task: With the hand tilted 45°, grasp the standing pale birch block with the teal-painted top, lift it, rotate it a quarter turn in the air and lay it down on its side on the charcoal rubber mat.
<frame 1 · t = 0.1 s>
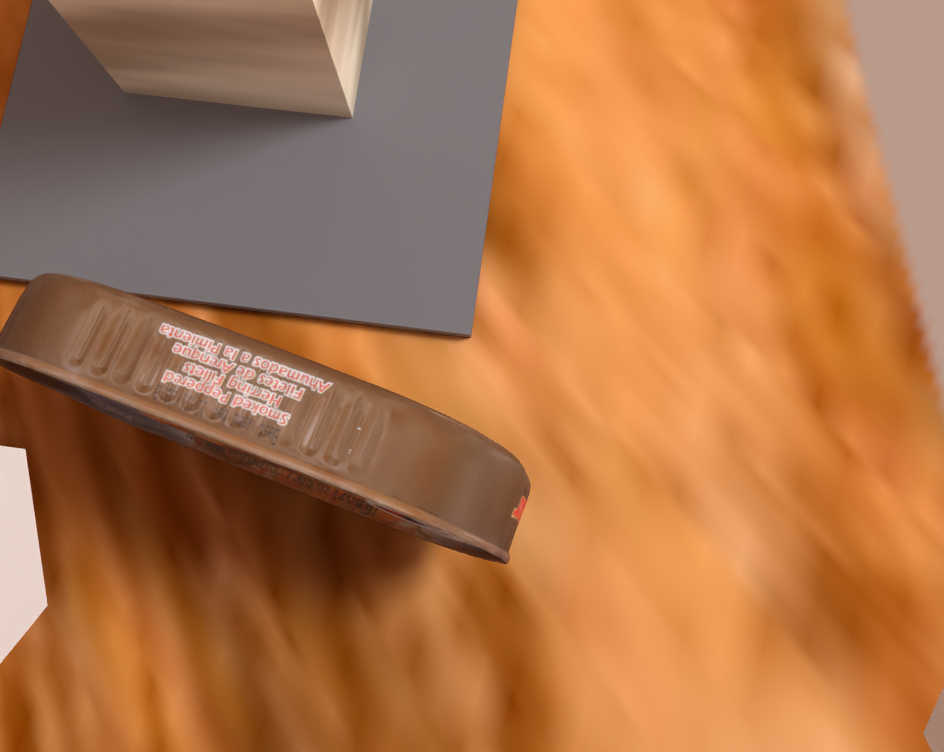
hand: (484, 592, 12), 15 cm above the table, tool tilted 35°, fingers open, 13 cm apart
mat: (270, 34, 31), on the table
block: (253, 26, 30), resting on mat
tin: (302, 439, 28), on the table
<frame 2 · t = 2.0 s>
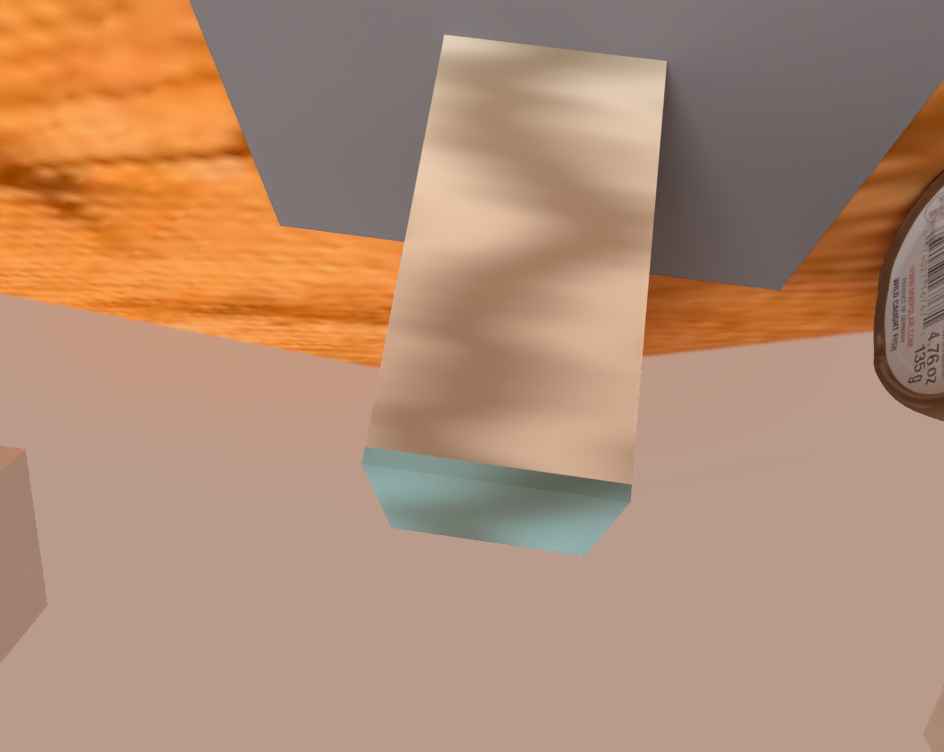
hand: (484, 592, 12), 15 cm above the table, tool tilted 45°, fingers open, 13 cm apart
mat: (545, 116, 27), on the table
block: (543, 137, 27), resting on mat
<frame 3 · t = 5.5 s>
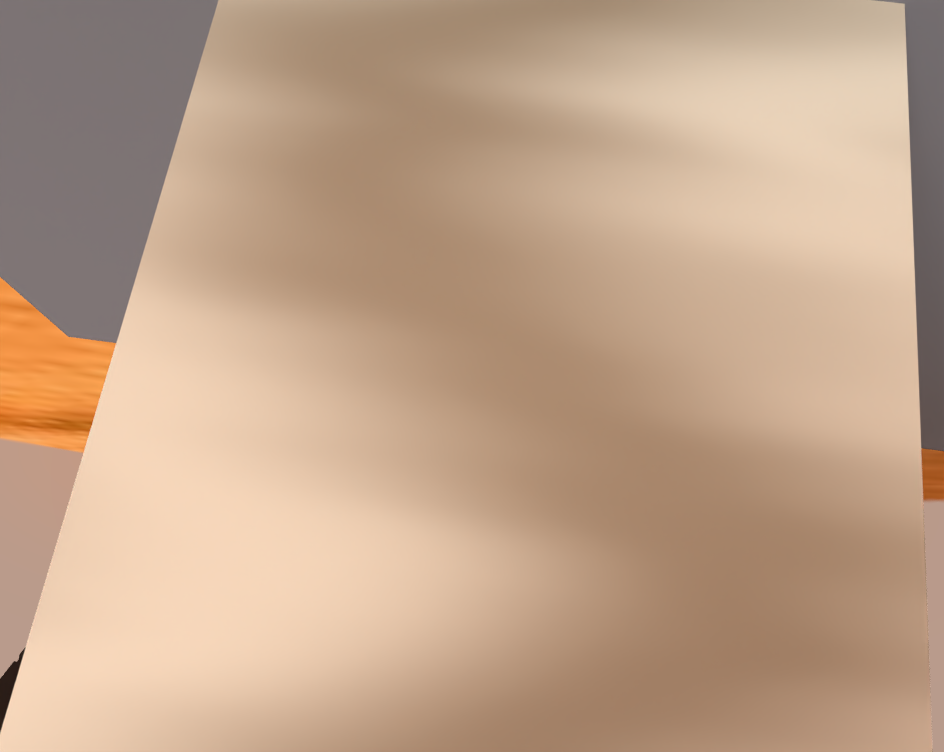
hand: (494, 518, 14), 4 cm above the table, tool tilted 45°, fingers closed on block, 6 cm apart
mat: (541, 155, 11), on the table
block: (535, 201, 12), resting on mat, touching gripper
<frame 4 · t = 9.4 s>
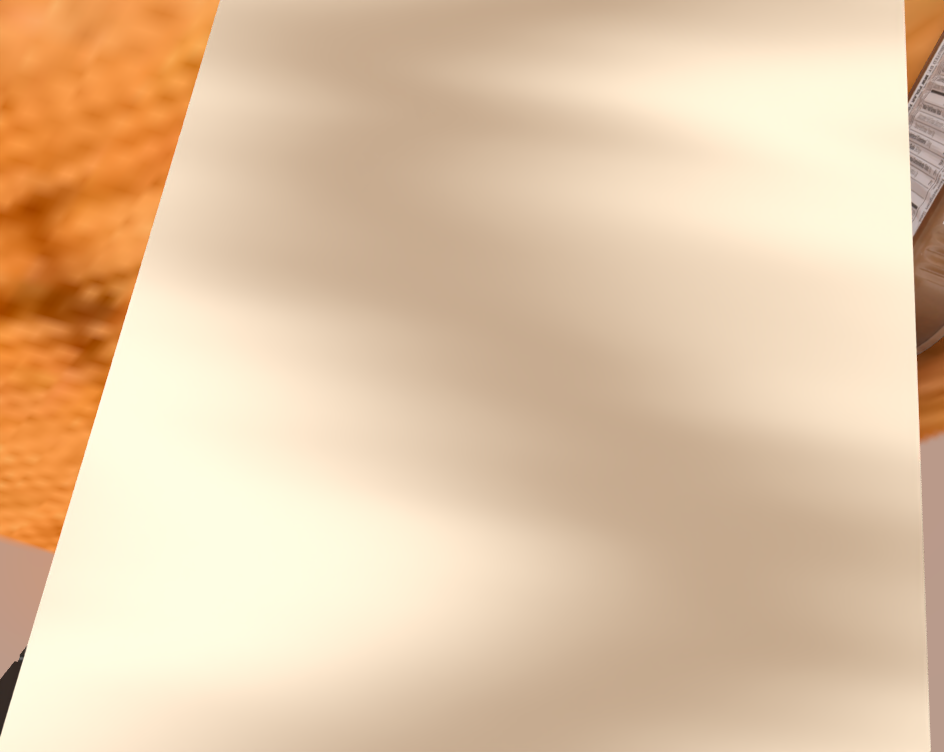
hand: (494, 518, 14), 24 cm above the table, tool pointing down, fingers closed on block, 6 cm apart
block: (536, 198, 12), point 24 cm above the table, tilted 45°, touching gripper
tin: (915, 125, 33), on the table
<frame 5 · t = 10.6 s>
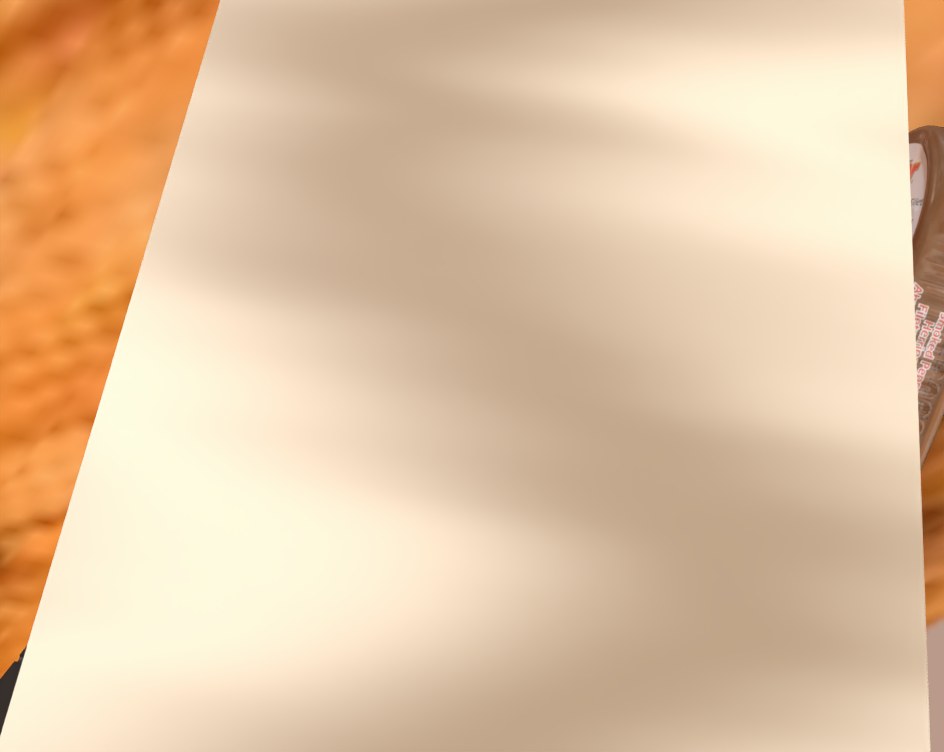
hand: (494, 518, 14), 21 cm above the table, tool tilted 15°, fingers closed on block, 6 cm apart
block: (536, 198, 12), point 22 cm above the table, tilted 61°, touching gripper
tin: (818, 331, 34), on the table
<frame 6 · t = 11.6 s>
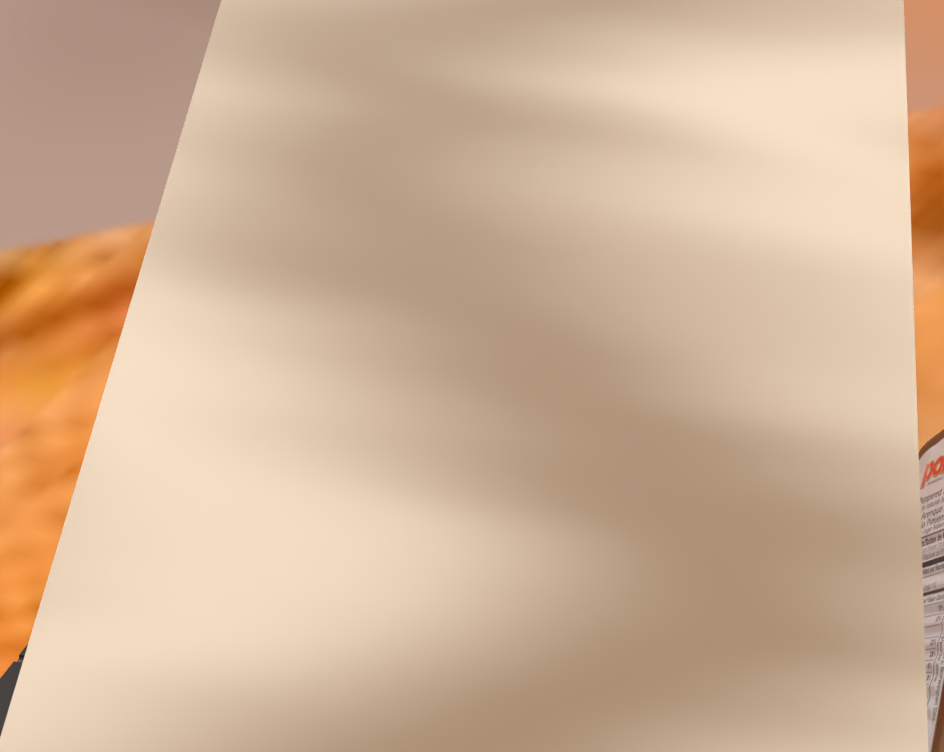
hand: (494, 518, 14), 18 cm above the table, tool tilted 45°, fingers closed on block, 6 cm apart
block: (537, 196, 12), point 21 cm above the table, tilted 89°, touching gripper
tin: (881, 652, 30), on the table
when the fingers open (4 cm above the table, at t = 15.6 s): block drops 3 cm, resting on mat.
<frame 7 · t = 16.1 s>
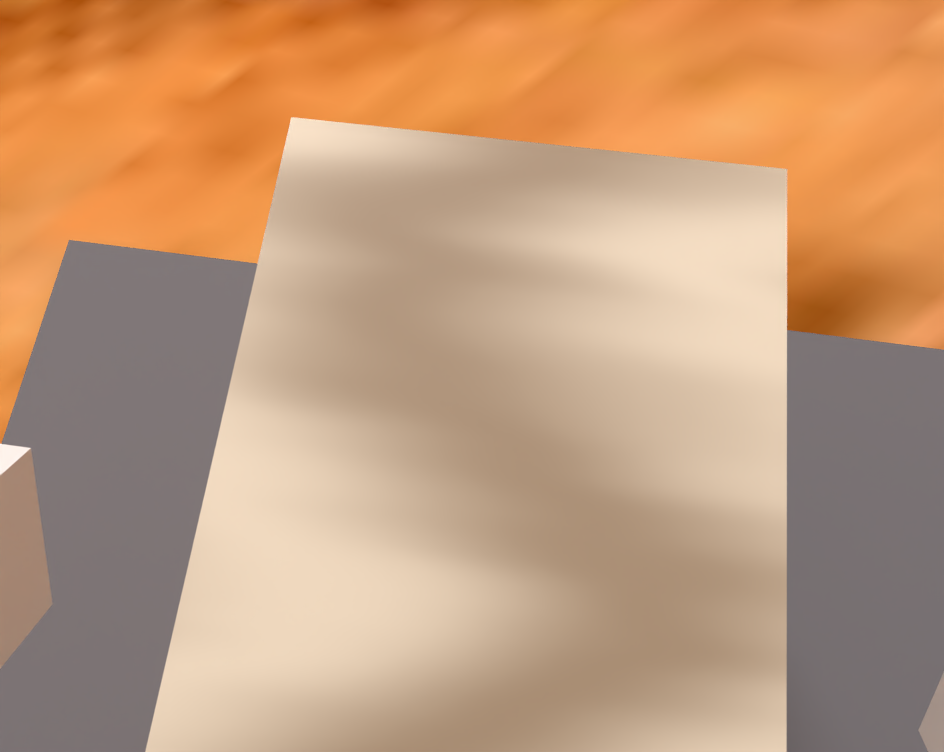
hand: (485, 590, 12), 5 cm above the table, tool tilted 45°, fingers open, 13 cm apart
mat: (468, 720, 16), on the table
block: (519, 287, 14), point 4 cm above the table, tilted 90°, touching mat
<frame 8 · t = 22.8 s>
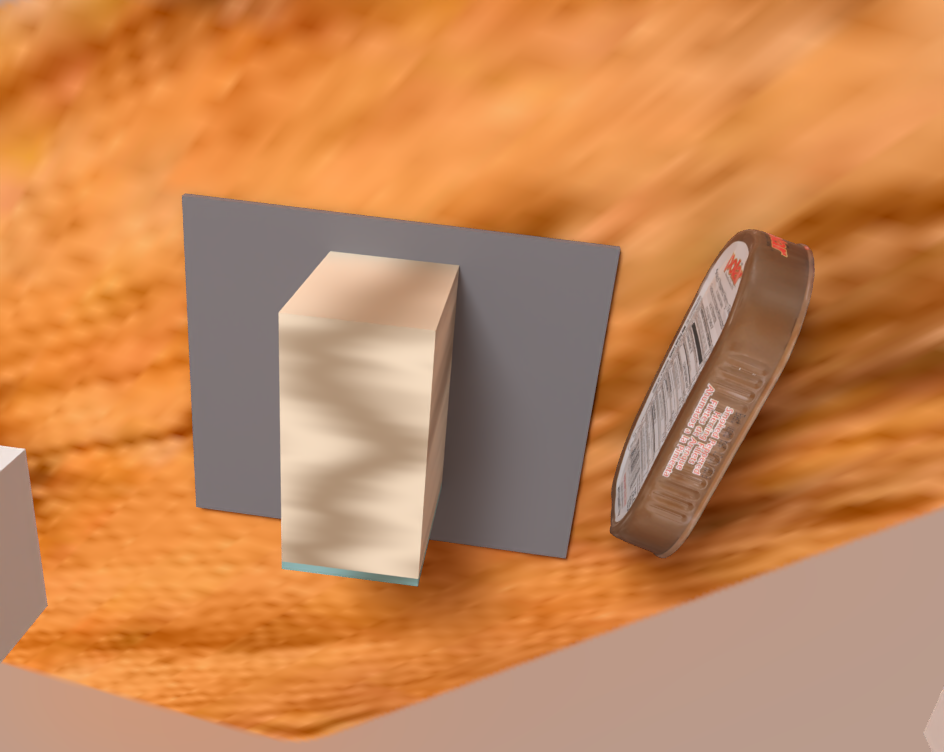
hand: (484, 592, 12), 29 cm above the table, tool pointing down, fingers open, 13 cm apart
mat: (389, 386, 43), on the table
block: (377, 286, 36), point 4 cm above the table, tilted 90°, touching mat
tin: (685, 356, 41), on the table
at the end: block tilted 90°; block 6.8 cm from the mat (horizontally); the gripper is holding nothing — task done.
